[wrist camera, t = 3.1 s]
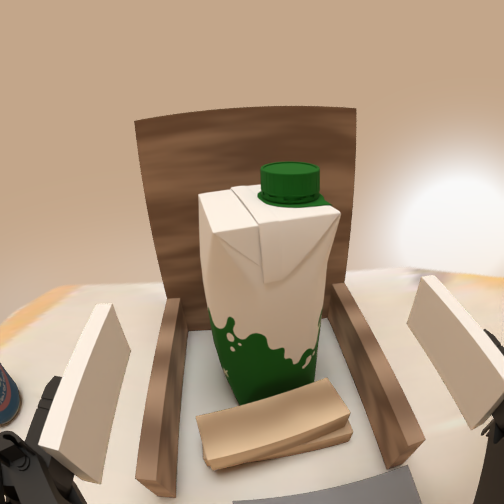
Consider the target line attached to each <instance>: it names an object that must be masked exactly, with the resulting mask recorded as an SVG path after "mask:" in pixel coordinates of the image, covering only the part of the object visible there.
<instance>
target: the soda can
mask: <svg viewBox="0 0 504 504" xmlns="http://www.w3.org/2000/svg"><path fill="white" fill-rule="evenodd" d="M19 406H20V398H19V392H18V388H17V385H16V383H15V382H14V381H13V380H12V378H11V377H10V376H9V374H8V373H7V372H6V370H5V369H4V367H3V366H2V365H1V363H0V424H5V423H7V422H9V421H10V420H12V419H13V418H14V417H15V415H16V414H17V412H18V409H19Z"/></svg>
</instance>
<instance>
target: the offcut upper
mask: <svg viewBox="0 0 504 504" xmlns="http://www.w3.org/2000/svg"><path fill="white" fill-rule="evenodd" d="M350 413H351V412H350V411H349V409H348V408H347V406H346V405H345V403H344V402H343V400H342V399H341V397H340V396H339V394H338V393H337V391H336V390H335V388H334V387H333V385H332V384H331V382H330V381H329V379H328V378H324V379H322V380H319V381H316V382H313V383H311V384H308V385H305V386H302V387H299V388H296V389H294V390H291V391H288V392H285V393H281V394H278V395H275V396H272V397H269V398H265V399H262V400H259V401H255V402H252V403H248V404H244V405H241V406H237V407H233V408H229V409H225V410H221V411H217V412H213V413H209V414H204V415H199V416H196V420H197V424H198V428H199V432H200V436H201V439H202V443H203V446H204V450H205V454H206V457H207V460H208V462H209V464H210V466H211V468H212V470H218V469H222V468H227V467H231V466H235V465H239V464H242V463H246V462H250V461H253V460H257V459H260V458H263V457H267V456H270V455H273V454H276V453H279V452H282V451H285V450H288V449H291V448H294V447H296V446H299V445H302V444H304V443H307V442H310V441H312V440H315V439H317V438H320V437H322V436H325V435H327V434H329V433H332V432H334V431H336V430H339V429H341V428H343V427H345V425H346V423H347V421H348V418H349V416H350Z"/></svg>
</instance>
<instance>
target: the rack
mask: <svg viewBox="0 0 504 504" xmlns="http://www.w3.org/2000/svg"><path fill="white" fill-rule="evenodd" d="M134 123H135V131H136V140H137V146H138V155H139V161H140V168H141V175H142V181H143V187H144V193H145V199H146V204H147V209H148V215H149V220H150V226H151V230H152V235H153V240H154V245H155V250H156V254H157V259H158V263H159V267H160V272H161V276H162V280H163V284H164V288H165V292H166V296H167V302H166V306H165V310H164V314H163V319H162V323H161V328H160V332H159V337H158V341H157V346H156V351H155V356H154V361H153V366H152V371H151V376H150V382H149V387H148V393H147V398H146V404H145V410H144V416H143V423H142V429H141V436H140V443H139V450H138V458H137V466H136V475H135V479H137V480H138V481H139V482H140V483H141V484H143V485H144V486H145V487H146V488H148V489H149V490H150V491H152V492H153V493H154V494H156V495H157V496H161V497H174V498H176V476H177V454H178V437H179V422H180V409H181V397H182V385H183V374H184V364H185V355H186V345H187V336H188V331H195V330H211V324H210V319H209V313H208V307H207V302H206V296H205V290H204V284H203V277H202V267H201V259H200V238H199V199H198V194H202V193H208V192H215V191H222V190H230V188H231V187H236V186H251V185H260V184H261V179H260V168H261V167H262V166H263V165H265V164H269V163H274V162H286V161H293V162H305V163H311V164H314V165H317V166H318V167H319V168H320V191H319V193H320V194H321V195H322V196H323V197H324V199H325V201H327V202H329V203H330V204H332V207H333V208H335V209H337V210H338V211H340V213H341V216H340V220H339V224H338V227H337V231H336V234H335V237H334V241H333V244H332V248H331V251H330V254H329V258H328V262H327V271H326V282H325V291H324V301H323V309H322V318H328V319H329V321H330V324H331V326H332V328H333V331H334V333H335V335H336V338H337V340H338V343H339V345H340V347H341V350H342V352H343V355H344V357H345V360H346V362H347V365H348V367H349V370H350V372H351V375H352V377H353V380H354V382H355V385H356V387H357V390H358V392H359V395H360V397H361V400H362V403H363V405H364V408H365V410H366V413H367V416H368V418H369V421H370V424H371V426H372V429H373V432H374V435H375V437H376V440H377V443H378V446H379V448H380V451H381V454H382V457H383V460H384V463H385V465H386V468H387V469H390V468H392V467H395V466H398V465H401V464H403V463H404V462H405V461H406V460H407V459H408V458H409V457H410V456H411V455H412V454H413V453H414V451H415V450H416V449H417V448H418V447H419V446H420V445H421V444H422V443H423V442H424V441H425V437H424V435H423V433H422V430H421V428H420V426H419V424H418V422H417V419H416V417H415V415H414V413H413V411H412V409H411V407H410V405H409V403H408V400H407V398H406V396H405V394H404V392H403V390H402V388H401V386H400V384H399V382H398V380H397V378H396V376H395V374H394V372H393V370H392V368H391V366H390V365H389V363H388V361H387V359H386V357H385V355H384V353H383V351H382V349H381V347H380V345H379V344H378V342H377V340H376V338H375V336H374V334H373V332H372V331H371V329H370V327H369V325H368V323H367V322H366V320H365V318H364V316H363V314H362V313H361V311H360V309H359V307H358V306H357V304H356V302H355V300H354V298H353V297H352V295H351V293H350V292H349V290H348V288H347V286H346V285H345V283H344V281H345V274H346V266H347V258H348V249H349V240H350V231H351V219H352V208H353V194H354V177H355V156H356V108H344V107H323V106H264V107H243V108H229V109H217V110H206V111H197V112H188V113H180V114H173V115H166V116H159V117H153V118H148V119H142V120H137V121H134Z"/></svg>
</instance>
